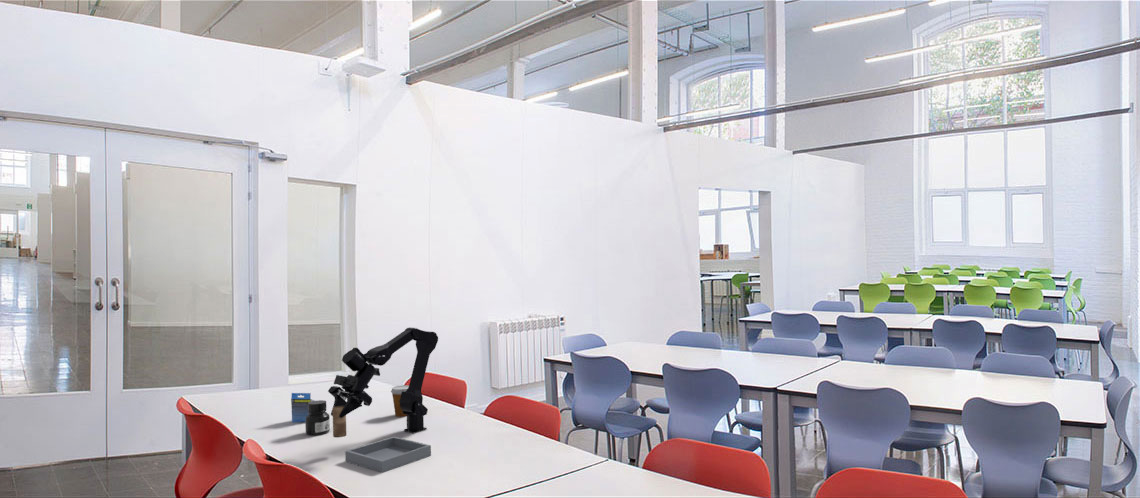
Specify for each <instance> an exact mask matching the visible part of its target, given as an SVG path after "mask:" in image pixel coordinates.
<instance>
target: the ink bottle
mask: <svg viewBox="0 0 1140 498" xmlns="http://www.w3.org/2000/svg"><path fill="white" fill-rule="evenodd" d="M308 413H309V414H308V415H307V416H306V418H305V422H304V424H305V434H306V435H307V436H319V435H325V434H327V433H329V432H330V431H331V428H330V426H331V423H330V421H331V419H330V418H331V417H330V413H328V412H327V401H326V400H320V399H319V400H315V401H312V402H309V403H308Z"/></svg>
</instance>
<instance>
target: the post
mask: <svg viewBox="0 0 1140 498" xmlns="http://www.w3.org/2000/svg"><path fill="white" fill-rule="evenodd" d="M343 408H344V406H335V407H332V410H331V412H332V411H333V416H332V437H333V438H343V437H344V438H345V437H346V436H347V415H345V416H344V417H342V418H340V417H339V415H340V413H341V411H342V409H343Z"/></svg>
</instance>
